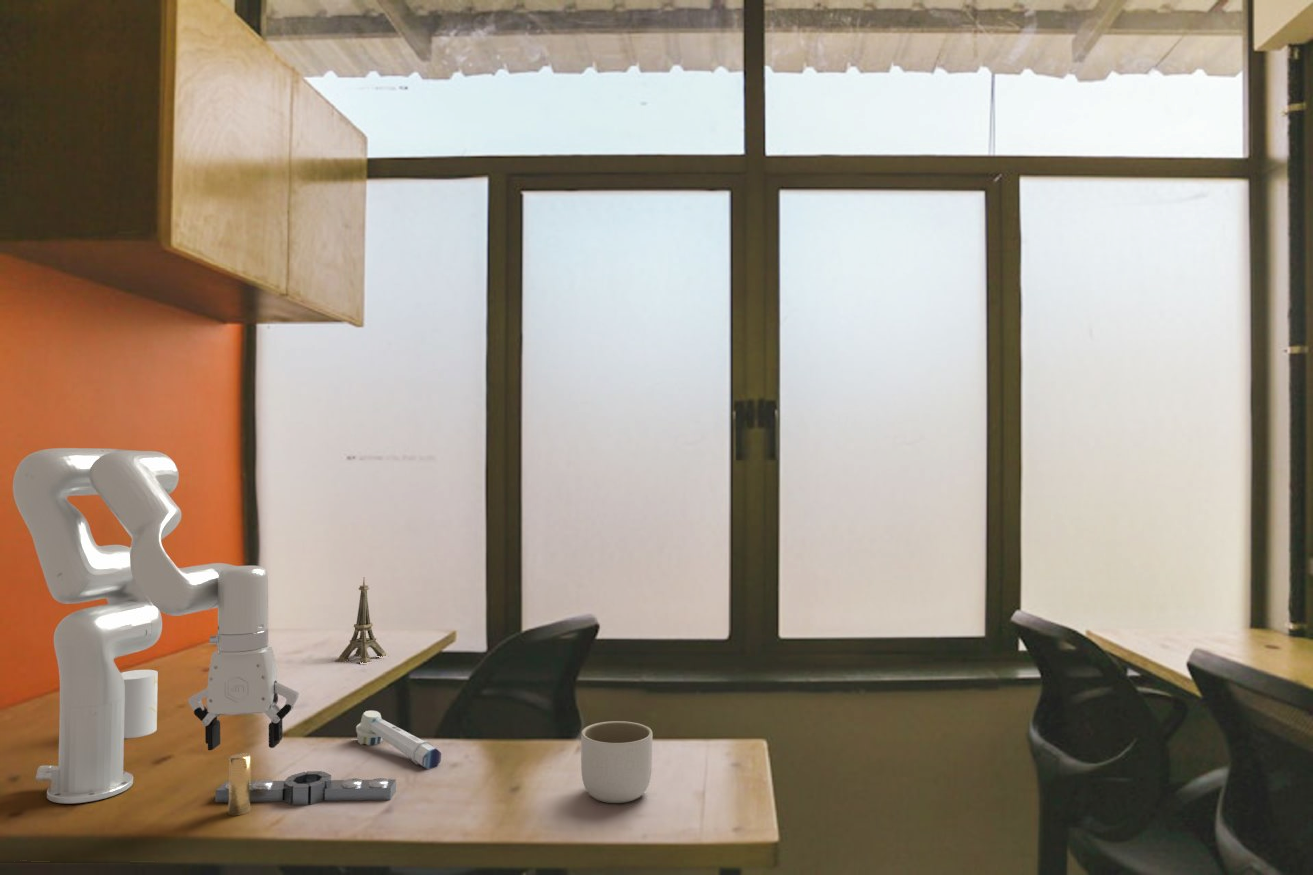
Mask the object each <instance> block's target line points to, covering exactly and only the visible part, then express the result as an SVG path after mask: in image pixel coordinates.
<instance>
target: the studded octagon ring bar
mask: <svg viewBox="0 0 1313 875" xmlns="http://www.w3.org/2000/svg"><path fill="white" fill-rule="evenodd" d="M396 791H397V779H395V778H394V779H393V778H391V779H390V778H389V779H388V778H385V777H384V778H383V777H378V778H373V779H362V778H348V779H347V778H346V779H332V774H329V773H328V772H326V771H322V770H316V771H315V770H312V771H311V770H308V771H302V772H299V773H294V774H291V775H290V776H288V777H286V778H285V780H272V779H268V778H267V779H259V780H251V782H250V803H252V802H255V803H257V802H258V803H260V802H261V803H263V802H264V803H265V802H266V803H267V802H269V803H271V802H283V801H284V802H285V803H287V804H289V805H292V806H299V805H300V806H307V805H309V804H310V805H313V804H316V803H320V802H323V801H324V802H329V801H332V802H333V801H334V802H335V801H341V802H343V801H389V800H390V801H391V800H392V798H393V797H394V795H395V793H396ZM214 797H215V799H214V800H215V803H229V780H228V781H224V782H223V783H222V784H221V785H219V786H218V788H216V790H215V796H214Z"/></svg>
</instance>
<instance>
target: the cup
mask: <svg viewBox="0 0 1313 875" xmlns="http://www.w3.org/2000/svg"><path fill="white" fill-rule="evenodd" d="M120 673H121V675H122V677H123V680H124V685H125V707H124V739H133V738H140V737H146V736H148V735H151V734H153V733H155V732H157V726H158V685H159V684H158V681H159V680H158V678H159V676H158V674H159V673H158V671H157V670H153V669H134V670H128V671H124V672H123V671H122V672H120Z"/></svg>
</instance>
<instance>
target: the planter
mask: <svg viewBox="0 0 1313 875" xmlns="http://www.w3.org/2000/svg"><path fill="white" fill-rule="evenodd" d="M580 732H581V733H580V736H581V737H580V740H581V741H580V749H581V750H580V763H581V764H580V765H581V766H580V767H581V780H582V783H583V786H584V788H585V791H586V792H587V793H588V794H589V795H590V797H592V798H594V799H595V800H597V801H599V802H603V803H607V804H608V803H609V804H622V803H623V804H624V803H629V802H632V801H635V800H637V799H638V798H641V796H642V795H643V794H644V793H645V792H646V791H647V789H648V788H649V785H650V781H651V779H652V778H651V777H652V767H653V765H652V764H653V737H654V736H653V731H652V729H651V728H650V727H649V726H646V724H645V725H644V724H641V723H639V722H632V721H625V720H623V721H622V720H621V721H618V720H615V721H614V720H612V721H611V720H610V721H602V722H597V723H593V724H590V725H588V726H586V727H584V728H582V730H581V731H580Z"/></svg>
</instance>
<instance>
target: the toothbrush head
mask: <svg viewBox="0 0 1313 875" xmlns="http://www.w3.org/2000/svg"><path fill="white" fill-rule="evenodd" d="M355 732H356V734H357V737H356V738H357V743H358V744H360V745H361V746H362V745H367V746H375V745H379V744H381V743H382V742H383V740H384V741H385V742H386V743H388V744H390V745H391V746H392V747H394V748H395V749H397V750H399V752H401V753H403V755H405V756H407V757H408V758H410V759H411V761H412V762H413V763H414V764H415V765H416V766H418V765H420V766H421V767H423V768H425V769H427V770H430V769H433V768H436V767H438V766H439V765H440V763H441V762H442V752H441V751H440V750H438V749H437V748H436V747H435V746H434V745H433V744H432V743H431V742H429V741H428V740H423V739H421V738H419V737H417V736H415V735H413V734H411V733H410V732H407V731H406V730H404V729H402V728H400V727H398V726H396V725H395V724H392V723H390V722H388V721H386V720H385V719H383V718H382V715H381V712H379V711H377V710H366V711H365V712H363V713H362V715H361V719H360V723H358V724H357V725H356V726H355ZM381 741H382V742H381Z"/></svg>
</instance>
